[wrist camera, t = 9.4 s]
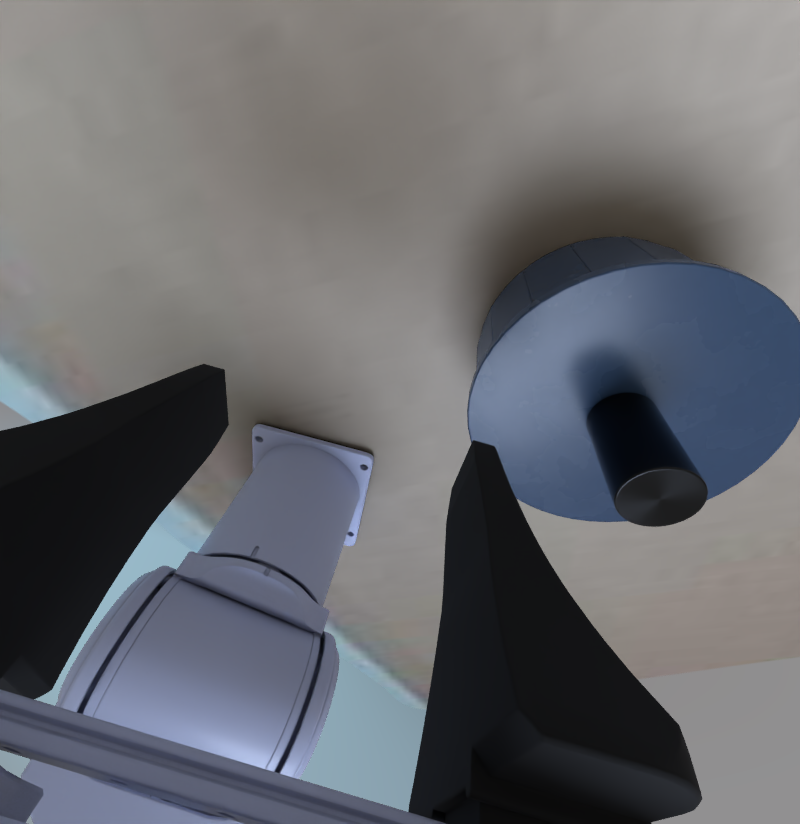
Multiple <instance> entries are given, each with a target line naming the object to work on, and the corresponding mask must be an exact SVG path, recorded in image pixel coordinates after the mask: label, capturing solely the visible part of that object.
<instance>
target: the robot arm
mask: <svg viewBox="0 0 800 824" xmlns="http://www.w3.org/2000/svg"><path fill="white" fill-rule="evenodd" d="M228 425H229V423H228V409H227V396H226V383H225V370H224V369H220V368H217V367H213V366H210V365H206V364H202V365H199V366H196V367H193V368H190V369H188V370H185V371H183V372H180V373H177V374H175V375H172V376H170V377H167V378H165V379H162V380H160V381H157V382H155V383H152V384H150V385H147V386H144V387H142V388H139V389H137V390H134V391H132V392H129V393H126V394H124V395H121V396H118V397H115V398H112V399H109V400H106V401H104V402H101V403H98V404H95V405H92V406H89V407H86V408H84V409H80V410H77V411H74V412H71V413H68V414H64V415H61V416H58V417H54V418H50V419H47V420H43V421H39V422H36V423H32V424H28V425H24V426H21V427H16V428H11V429H7V430H2V431H0V750H3V751H7V752H10V753H13V754H16V755H20V756H23V757H26V758H29V759H30V762H29V763H28V765H27V767H26V769H25V770H24V771H23V773H22V775H21V778H19V777H17V776H15V775H13V774H12V773H10V772H8V771H6V770H5V769H4V768H3V767H1V766H0V824H27V823H26V821H27V819H28V818H29V816H30V815H31V818H32V821H33V824H651V822H653V821H658V820H662V819H665V818H670V817H674V816H678V815H682V814H685V813H687V812H690V811H693V810H694V809H695V808H696V807H697V806H698V805H699V803H700V802H701V800H702V796H701V791H700V788H699V785H698V781H697V778H696V775H695V771H694V768H693V765H692V761H691V758H690V754H689V752H688V749H687V746H686V743H685V740H684V737H683V735H682V732H681V729H680V727H679V725H678V724H677V722H676V721H674V719H673V718H672V717H671V716H670V715H669V714H668V713H667V712H666V711H665V709H664V708H663V707H662V706H661V705H660V704H659V703H658V702H657V701H656V699H655V698H654V697H653V696H652V695H651V694H650V693H649V692H648V691H647V690H646V688H645V687H644V686H643V685H642V684H641V683H640V682H639V681H638V680H637V679H636V678H635V676H634V675H633V674H632V673H631V672H630V671H629V670H628V668H627V667H626V666H625V665H624V664H623V662H622V661H621V660H620V659H619V657H618V656H617V655H616V654H615V653H614V651H613V650H612V649H611V648H610V647H609V645H608V644H607V643H606V642H605V641H604V639H603V638H602V637H601V635H600V634H599V633H598V632H597V630H596V629H595V628H594V626H593V625H592V624H591V622H590V621H589V620H588V618H587V617H586V616H585V614H584V613H583V611H582V610H581V609H580V607H579V606H578V605H577V603H576V602H575V601H574V599H573V598H572V596H571V595H570V594H569V592H568V591H567V589H566V588H565V586H564V585H563V583H562V582H561V580H560V579H559V577H558V576H557V574H556V572H555V571H554V569H553V568H552V566H551V564H550V563H549V561H548V559H547V558H546V556H545V554H544V553H543V551H542V549H541V547H540V545H539V544H538V542H537V540H536V538H535V536H534V534H533V532H532V530H531V528H530V527H529V525H528V523H527V521H526V518H525V516H524V514H523V512H522V510H521V508H520V506H519V504H518V501H517V499H516V497H515V495H514V492H513V490H512V488H511V485H510V483H509V481H508V478H507V476H506V473H505V471H504V468H503V465H502V463H501V460H500V457H499V455H498V452H497V450H496V448H495V446H493V445H489V444H486V443H482V442H479V441H475V440H473V441H472V444H471V446H470V448H469V451H468V453H467V455H466V458H465V460H464V462H463V464H462V467H461V469H460V471H459V474H458V476H457V478H456V480H455V483H454V485H453V487H452V492H451V497H450V503H449V509H448V515H447V523H446V542H445V564H444V586H443V602H442V613H441V620H440V627H439V634H438V641H437V648H436V654H435V661H434V667H433V674H432V680H431V687H430V693H429V699H428V704H427V710H426V716H425V722H424V728H423V734H422V740H421V745H420V750H419V756H418V761H417V767H416V772H415V778H414V783H413V788H412V794H411V799H410V804H409V812H406V811H403V810H399V809H396V808H393V807H389V806H386V805H383V804H379V803H376V802H373V801H369V800H366V799H363V798H359V797H356V796H353V795H349V794H346V793H343V792H339V791H336V790H333V789H330V788H326V787H323V786H319V785H316V784H313V783H310V782H306V781H303V780H300V779H299V778H300V776H301V775H302V773H303V772H304V770H305V768H306V766H307V764H308V762H309V760H310V758H311V756H312V754H313V752H314V749H315V747H316V745H317V742H318V740H319V737H320V735H321V732H322V729H323V726H324V724H325V721H326V718H327V715H328V712H329V708H330V705H331V701H332V698H333V694H334V690H335V686H336V681H337V676H338V670H339V654H338V651H337V648H336V642H335V638H334V637H333V636H332V635H331V634H329V633H327V632H324V631H323V630H324V627H325V624H326V621H327V618H328V615H329V610H328V609H326V608H324V607H323V604H324V601H325V598H326V595H327V592H328V589H329V586H330V583H331V580H332V577H333V574H334V571H335V569H336V566H337V563H338V560H339V557H340V554H341V551H342V548H343V545H348V546H353V545H354V544H355V542H356V539H357V534H358V530H359V525H360V521H361V516H362V512H363V507H364V503H365V498H366V494H367V489H368V485H369V480H370V476H371V471H372V467H373V462H374V457H373V456H372V455H371V454H370V453H367V452H363V451H360V450H356V449H352V448H348V447H345V446H341V445H337V444H334V443H330V442H326V441H322V440H319V439H315V438H311V437H307V436H304V435H300V434H296V433H292V432H289V431H285V430H281V429H278V428H274V427H270V426H266V425H263V424H256V425H255V426H254V428H253V429H252V453H253V472H252V473H251V475H250V476H249V478H248V479H247V481H246V482H245V484H244V485H243V487H242V488H241V490H240V491H239V493H238V494H237V496H236V497H235V498H234V500H233V501H232V503H231V504H230V506H229V507H228V509H227V510H226V512H225V513H224V515H223V516H222V518H221V519H220V521H219V522H218V524H217V525H216V526H215V528H214V529H213V531H212V532H211V534H210V535H209V537H208V538H207V540H206V541H205V543H204V544H203V546H202V547H201V549H200V550H199V551H198V553H195V552H189V553H188V554H187V556H186V557H185V559H184V560H183V562H182V563H181V565H180V566H179V567H178V569H177V570H176V569H173V568H171V567H169V566H161V567H159V568H157V569H156V570H154V571H151V572H149V573H146V574H144V575H143V576H141V577H139V578H138V579H137V580H136V581H135V582H133V583H132V584H131V585H130V586H129V587H128V588H127V590H126V591H125V592H124V593H123V594H122V595H121V596H120V597H119V599H118V600H117V601H116V602H115V604H114V605H113V606H112V607H111V609H110V610H109V611H108V612H107V614H106V615H105V616H104V618H103V619H102V620H101V622H100V623H99V625H98V626H97V627H96V629H95V630H94V632H93V633H92V635H91V636H90V638H89V639H88V641H87V642H86V644H85V645H84V647H83V648H82V650H81V652H80V653H79V655H78V657H77V658H76V660H75V662H74V663H73V665H72V667H71V669H70V671H69V673H68V674H67V676H66V679H65V681H64V683H63V685H62V688H61V690H60V693H59V696H58V702H57V703H56V705H55V706H53V705H50V704H47V703H43V702H40V701H37V700H33V699H36V698H38V697H40V696H42V695H44V694H46V693H47V692H49V691H50V690H52V688H53V686H54V684H55V683H56V680H57V679H58V677H59V674H60V673H61V671H62V670H63V668H64V666H65V664H66V662H67V660H68V659H69V657H70V655H71V653H72V651H73V650H74V648H75V646H76V644H77V642H78V640H79V639H80V637H81V635H82V633H83V632H84V630H85V628H86V627H87V625H88V623H89V622H90V619H91V618H92V616H93V615H94V613H95V612H96V610H97V608H98V607H99V605H100V603H101V602H102V600H103V598H104V596H105V595H106V593H107V591H108V590H109V588H110V587H111V585H112V583H113V582H114V581H115V579H116V577H117V576H118V574H119V573H120V571H121V570H122V568H123V566H124V565H125V563H126V562H127V560H128V559H129V557H130V556H131V554H132V553H133V551H134V550H135V548H136V547H137V545H138V544H139V542H140V541H141V539H142V538H143V537H144V535H145V534H146V532H147V530H148V529H149V528H150V526H151V525H152V524H153V523H154V521H155V520H156V519H157V517H158V516H159V515H160V514H161V512H162V511H163V510H164V509H165V508H166V506H167V505H168V504H169V503H170V502H171V500H172V499H173V498H174V497H175V496H176V495H177V493H178V492H179V491H180V490H181V489H182V487H183V486H184V485H185V484H186V483H187V482H188V480H189V479H190V478H191V477H192V476H193V474H194V473H195V472H196V471H197V470H198V468H199V467H200V466H201V465H202V464H203V462H204V461H205V460H206V459H207V457H208V456H209V455H210V454H211V452H212V451H213V449H214V448H215V446H216V445H217V443H218V442H219V440H220V438H221V437H222V435H223V433H224V432H225V430H226V428H227V427H228ZM259 436H260V437H262V438H260V437H259ZM362 464H365V465H367V466H363V465H362Z"/></svg>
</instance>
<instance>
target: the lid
mask: <svg viewBox="0 0 800 824" xmlns="http://www.w3.org/2000/svg"><path fill="white" fill-rule="evenodd" d="M467 415H468V430H469V434H470V439H471V443H472V441H473V440H475V441H479V442H482V443H486V444H489V445H493V446H495V448H496V450H497V452H498V455H499V457H500V460H501V463H502V465H503V468H504V471H505V473H506V476H507V478H508V481H509V483H510V485H511V488H512V490H513V492H514V495H515V497H516V498H517V499H519V500H520V501H522V502H524V503H526V504H528V505H530V506H532V507H534V508H537V509H539V510H541V511H544V512H548V513H551V514H554V515H557V516H562V517H566V518H571V519H577V520H585V521H598V522H618V521H629V522H632V523H634V524H638V525H642V526H652V527H656V526H666V525H671V524H675V523H678V522H681V521H684V520H686V519H688V518H690V517H691V516H693V515H694V514H696V513H697V512H698V511H699V510H700V509H701V508H702V507H703V505H704V504H705V502H706V500H708V499H710V498H713V497H715V496H717V495H719V494H721V493H723V492H724V491H726V490H728V489H729V488H731V487H733V486H735V485H736V484H738V483H739V482H741V481H742V480H743V479H745V478H746V477H748V476H749V475H750V474H752V473H753V472H755V471H756V470H757V469H758V468H759V467H760V466H761V465H763V464H764V463H765V462H766V461H767V460H768V459H769V458H770V457H771V456H772V455H773V454H774V453H775V452H776V451H777V450H778V449H779V447H780V446H781V445H782V444H783V443H784V442H785V440H786V439H787V437H788V436H789V434H790V433H791V432H792V430H793V429H794V427H795V426H796V424H797V422H798V420H799V418H800V322H799V320H798V318H797V316H796V315H795V314H794V313H793V312H792V310H791V309H790V308H789V307H788V306H787V305H786V303H785V302H784V301H783V300H782V299H781V298H779V297H778V296H777V295H775V294H774V293H773V292H772V291H770V290H769V289H768V288H767V287H765V286H763V285H761V284H760V283H758V282H756V281H754V280H752V279H750V278H748V277H746V276H744V275H743V274H741V273H739V272H736V271H733V270H730V269H727V268H724V267H721V266H718V265H715V264H710V263H705V262H699V261H693V260H682V259H653V260H640V261H633V262H628V263H623V264H618V265H613V266H609V267H605V268H602V269H599V270H596V271H593V272H590V273H587V274H584V275H582V276H579V277H577V278H575V279H573V280H570V281H568V282H566V283H564V284H561V285H559V286H558V287H556V288H554V289H553V290H551V291H549V292H548V293H546V294H544V295H542V296H541V297H539V298H538V299H536V300H535V301H534V302H532V303H531V304H530V305H528V306H527V307H526V308H524V309H523V310H522V311H520V312H519V313H518V314H517V315H516V316H515V317H514V318H513V319H512V320H511V321H510V322H509V323H508V324H507V325H506V326H505V327H504V328H503V329H502V330H501V332H500V333H499V334H498V335H497V336H496V338H495V339H494V340H493V341H492V342H491V344H490V346H489V347H488V349H487V350H486V352H485V354H484V355H483V357H482V358H481V361H480V363H479V365H478V367H477V370H476V372H475V374H474V377H473V381H472V384H471V388H470V391H469V400H468V409H467Z"/></svg>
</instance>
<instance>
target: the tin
mask: <svg viewBox="0 0 800 824" xmlns="http://www.w3.org/2000/svg"><path fill="white" fill-rule="evenodd" d="M653 259H682V260H692V259H690V258H689V257H687V256H685V255H684V254H682V253H680V252H679V251H677V250H675V249H673V248H669V247H665V246H662V245H659V244H656V243H653V242H650V241H647V240H641V239H636V238H630V237H624V236H623V237H605V238H594V239H590V240H585V241H581V242H576V243H574V244H571V245H568V246H565V247H562V248H559V249H557V250H555V251H553V252H551V253H549V254H547V255H545V256H543V257H542V258H540V259H538V260H537V261H535V262H534V263H532V264H531V265H529V266H528V267H527V268H525V269H524V270H523V271H522V272H520V273H519V274H518V275H517V276H516V277H515V278H514V279H513V280H512V281H511V282H510V283H509V284H508V285H507V286H506V287H505V288H504V290H503V291H502V292H501V294H500V295H499V296H498V297H497V299H496V300H495V302H494V304H493V305H492V306H491V309H490V311H489V313H488V315H487V317H486V320H485V322H484V325H483V328H482V332H481V336H480V339H479V342H478V347H477V367H478V365H479V363H480V361H481V358H482V357H483V355H484V354H485V352H486V350H487V349H488V347H489V346H490V344H491V342H492V341H493V340H494V339H495V338H496V336H497V335H498V334H499V333H500V332H501V330H502V329H503V328H504V327H505V326H506V325H507V324H508V323H509V322H510V321H511V320H512V319H513V318H514V317H515V316H516V315H517V314H518V313H519V312H520V311H522V310H523V309H524V308H526V307H527V306H528V305H530V304H531V303H532V302H534V301H535V300H536V299H538V298H539V297H541V296H542V295H544V294H546V293H548V292H549V291H551V290H553V289H554V288H556V287H558V286H559V285H561V284H564V283H566V282H568V281H570V280H573V279H575V278H577V277H579V276H582V275H584V274H587V273H590V272H593V271H596V270H599V269H602V268H605V267H609V266H613V265H618V264H623V263H628V262H633V261H640V260H653ZM693 261H694V260H693Z"/></svg>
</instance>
